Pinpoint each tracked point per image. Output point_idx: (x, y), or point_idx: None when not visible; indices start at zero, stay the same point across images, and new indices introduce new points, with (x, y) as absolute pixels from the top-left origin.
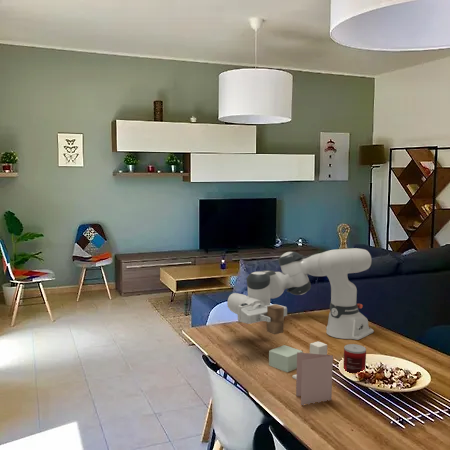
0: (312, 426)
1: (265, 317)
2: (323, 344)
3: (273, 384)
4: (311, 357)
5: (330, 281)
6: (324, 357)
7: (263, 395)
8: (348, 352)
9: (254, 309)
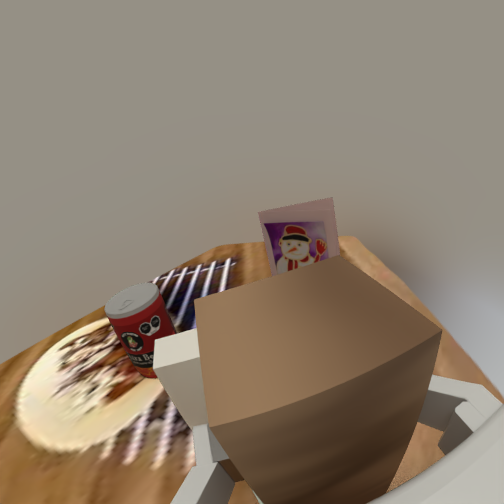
0: (341, 253)
1: (436, 382)
2: (164, 343)
3: None
4: (300, 219)
5: None
6: (279, 209)
7: (411, 306)
8: (159, 293)
9: None
